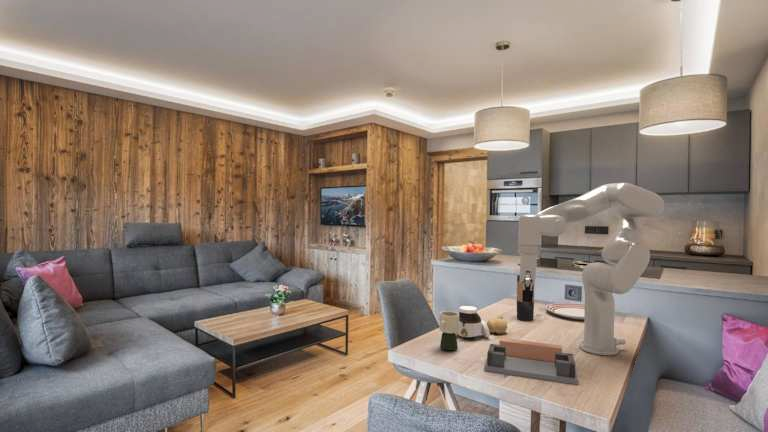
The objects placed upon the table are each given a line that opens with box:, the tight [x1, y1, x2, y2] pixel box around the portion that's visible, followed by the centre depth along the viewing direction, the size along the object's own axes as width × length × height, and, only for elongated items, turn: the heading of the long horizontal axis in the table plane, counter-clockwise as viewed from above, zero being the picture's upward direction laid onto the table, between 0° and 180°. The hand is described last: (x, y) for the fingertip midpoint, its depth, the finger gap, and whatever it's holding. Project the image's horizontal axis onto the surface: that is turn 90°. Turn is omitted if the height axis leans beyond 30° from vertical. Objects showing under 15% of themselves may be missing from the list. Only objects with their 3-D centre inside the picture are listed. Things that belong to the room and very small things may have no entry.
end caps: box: [486, 343, 576, 378], centre depth 124 cm, size 25×9×4 cm, turn 69°
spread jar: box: [456, 305, 491, 341], centre depth 157 cm, size 12×11×12 cm
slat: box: [498, 337, 563, 363], centre depth 136 cm, size 20×4×5 cm, turn 68°
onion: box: [486, 314, 508, 335], centre depth 163 cm, size 8×8×7 cm
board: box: [483, 356, 580, 386], centre depth 124 cm, size 27×11×2 cm, turn 69°
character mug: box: [438, 310, 459, 351], centre depth 143 cm, size 11×7×13 cm, turn 141°
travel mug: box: [516, 274, 535, 322], centre depth 183 cm, size 8×8×20 cm
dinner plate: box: [545, 302, 585, 321], centre depth 192 cm, size 28×27×3 cm
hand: (527, 299), depth 137 cm, fingers open, 9 cm apart
